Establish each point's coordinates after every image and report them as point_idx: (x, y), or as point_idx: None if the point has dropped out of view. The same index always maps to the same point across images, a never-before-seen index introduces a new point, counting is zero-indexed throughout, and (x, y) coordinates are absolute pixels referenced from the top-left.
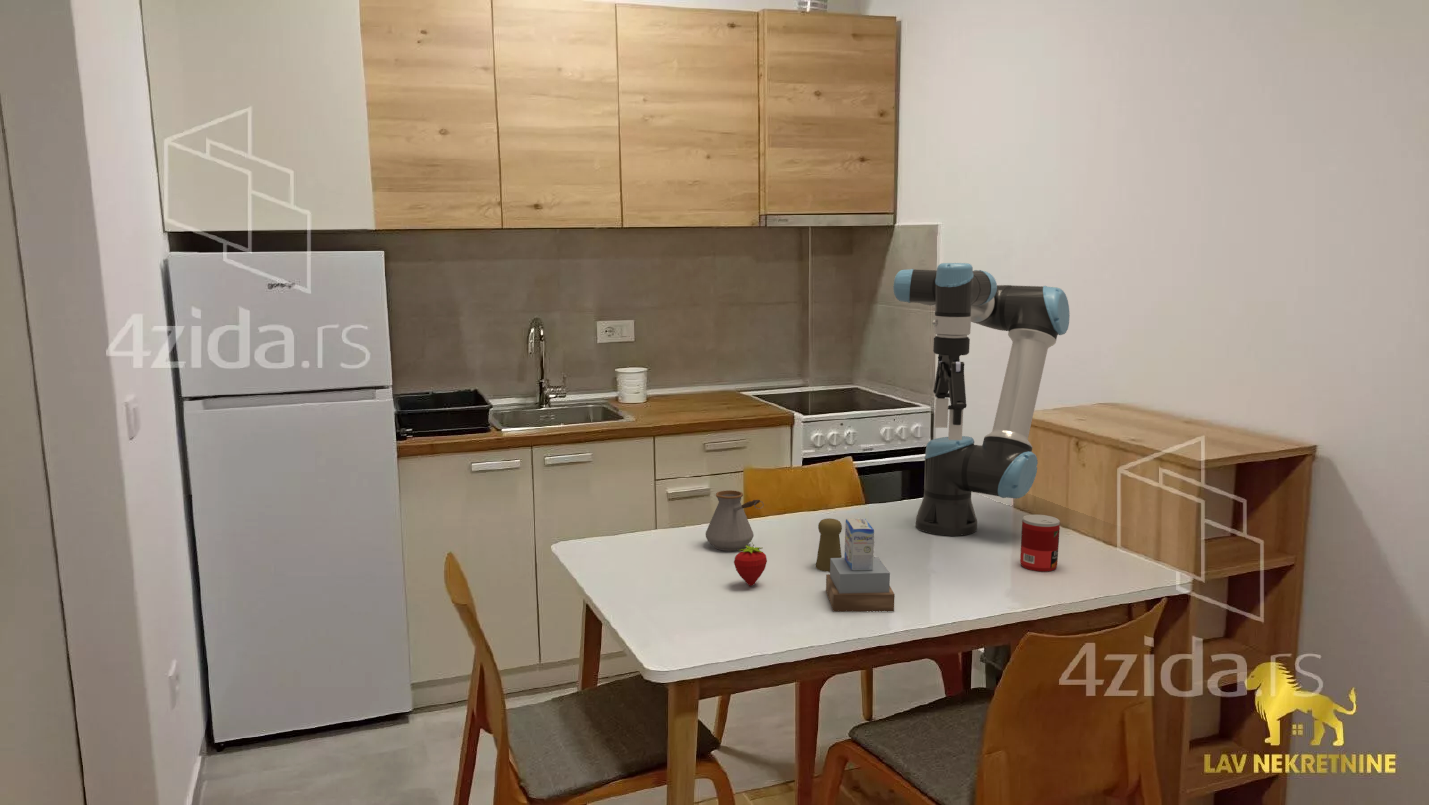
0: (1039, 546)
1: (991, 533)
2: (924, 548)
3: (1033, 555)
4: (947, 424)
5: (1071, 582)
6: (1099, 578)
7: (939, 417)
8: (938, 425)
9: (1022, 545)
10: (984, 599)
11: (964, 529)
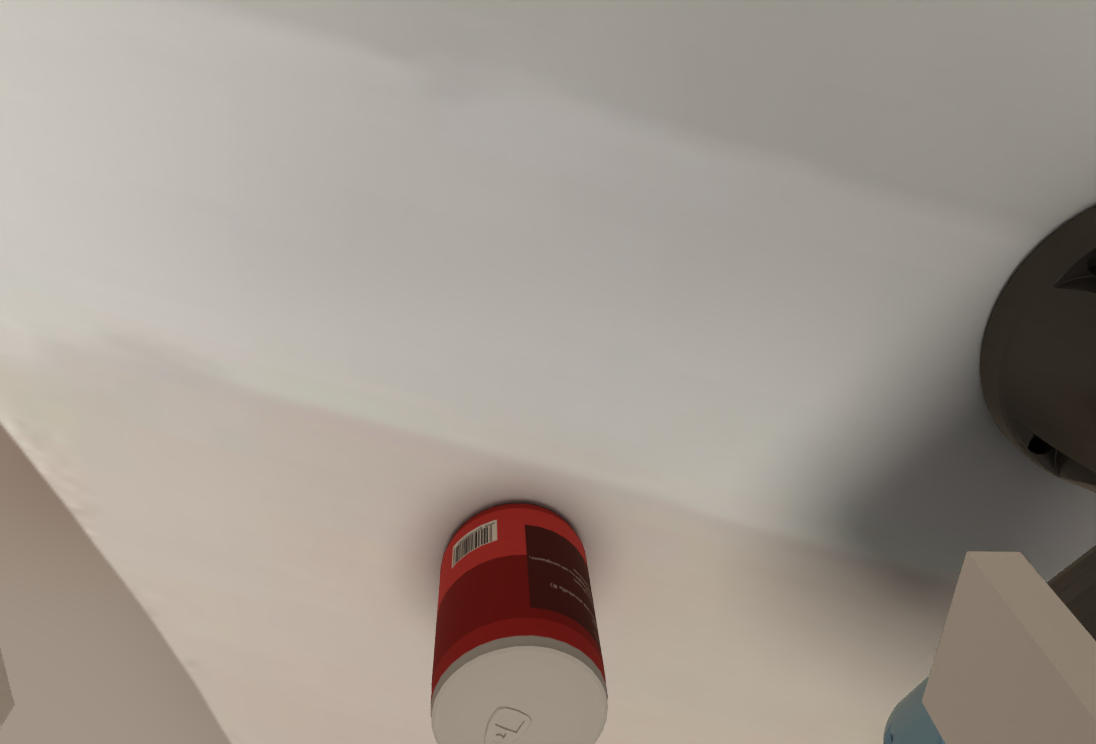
0: (440, 614)
1: (986, 506)
2: (828, 138)
3: (453, 567)
4: (943, 738)
5: (319, 615)
6: (370, 710)
7: (1038, 729)
8: (969, 615)
9: (512, 557)
10: (53, 230)
11: (996, 399)
